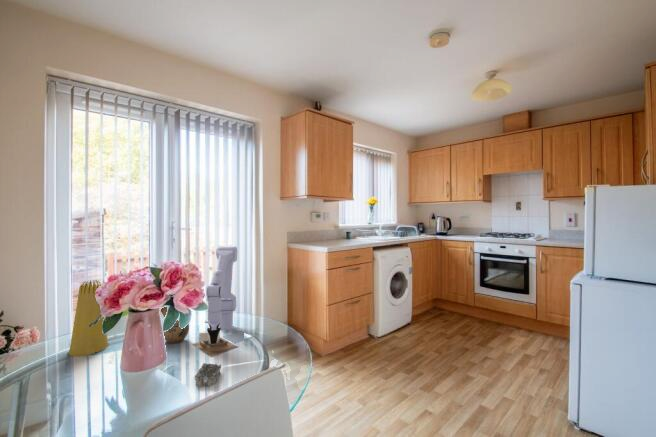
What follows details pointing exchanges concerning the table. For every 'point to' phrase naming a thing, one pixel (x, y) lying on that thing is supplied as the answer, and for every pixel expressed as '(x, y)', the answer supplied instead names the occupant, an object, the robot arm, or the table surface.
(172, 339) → the ceramic vessel
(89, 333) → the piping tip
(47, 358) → the table surface
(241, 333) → the mat
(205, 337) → the jug
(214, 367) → the grey speckled lump
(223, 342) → the tray
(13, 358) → the table surface
